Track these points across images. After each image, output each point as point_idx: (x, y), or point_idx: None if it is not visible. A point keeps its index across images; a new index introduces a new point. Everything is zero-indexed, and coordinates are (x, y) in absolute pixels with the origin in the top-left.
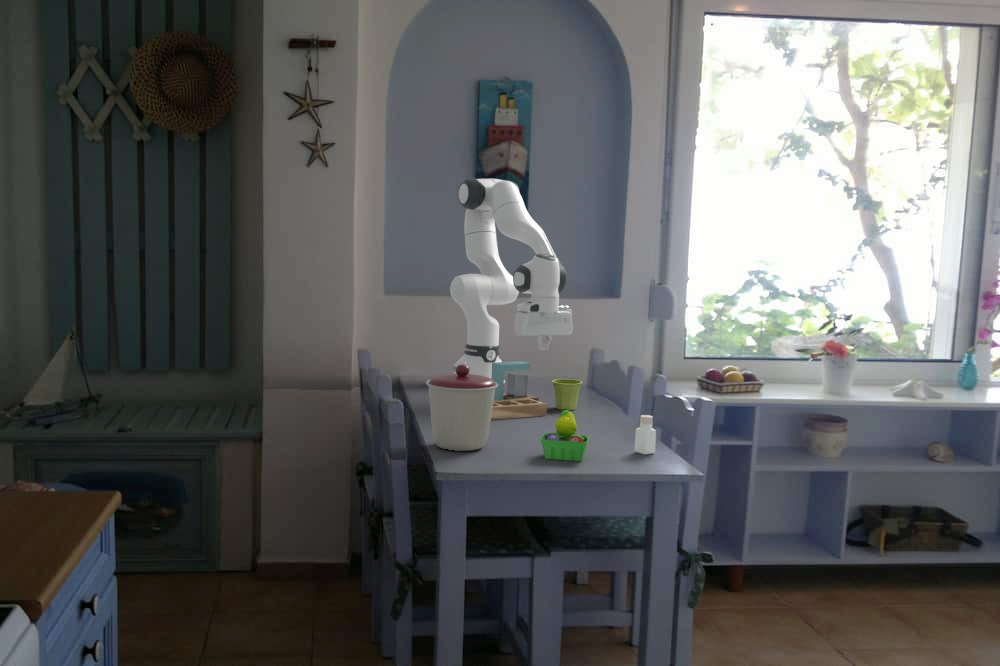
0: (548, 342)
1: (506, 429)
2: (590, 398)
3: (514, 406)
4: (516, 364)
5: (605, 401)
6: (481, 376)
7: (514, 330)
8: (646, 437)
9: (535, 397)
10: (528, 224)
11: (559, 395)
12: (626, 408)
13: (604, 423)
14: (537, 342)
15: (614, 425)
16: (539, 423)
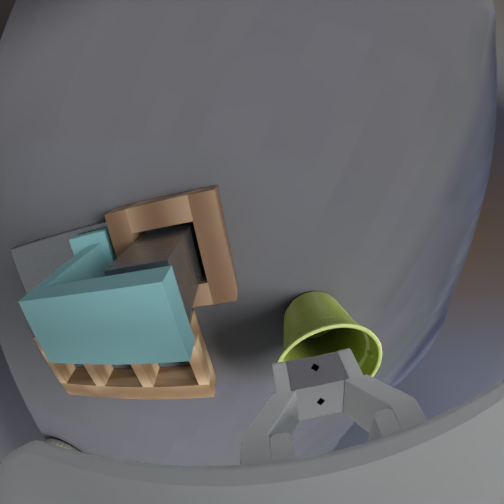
0: (357, 419)
1: (115, 428)
2: (454, 182)
3: (128, 397)
4: (113, 363)
5: (461, 233)
6: None
7: (8, 461)
8: None
9: (226, 296)
10: None
11: (286, 355)
12: (443, 320)
13: (302, 431)
14: (266, 404)
15: (309, 440)
16: (177, 420)
